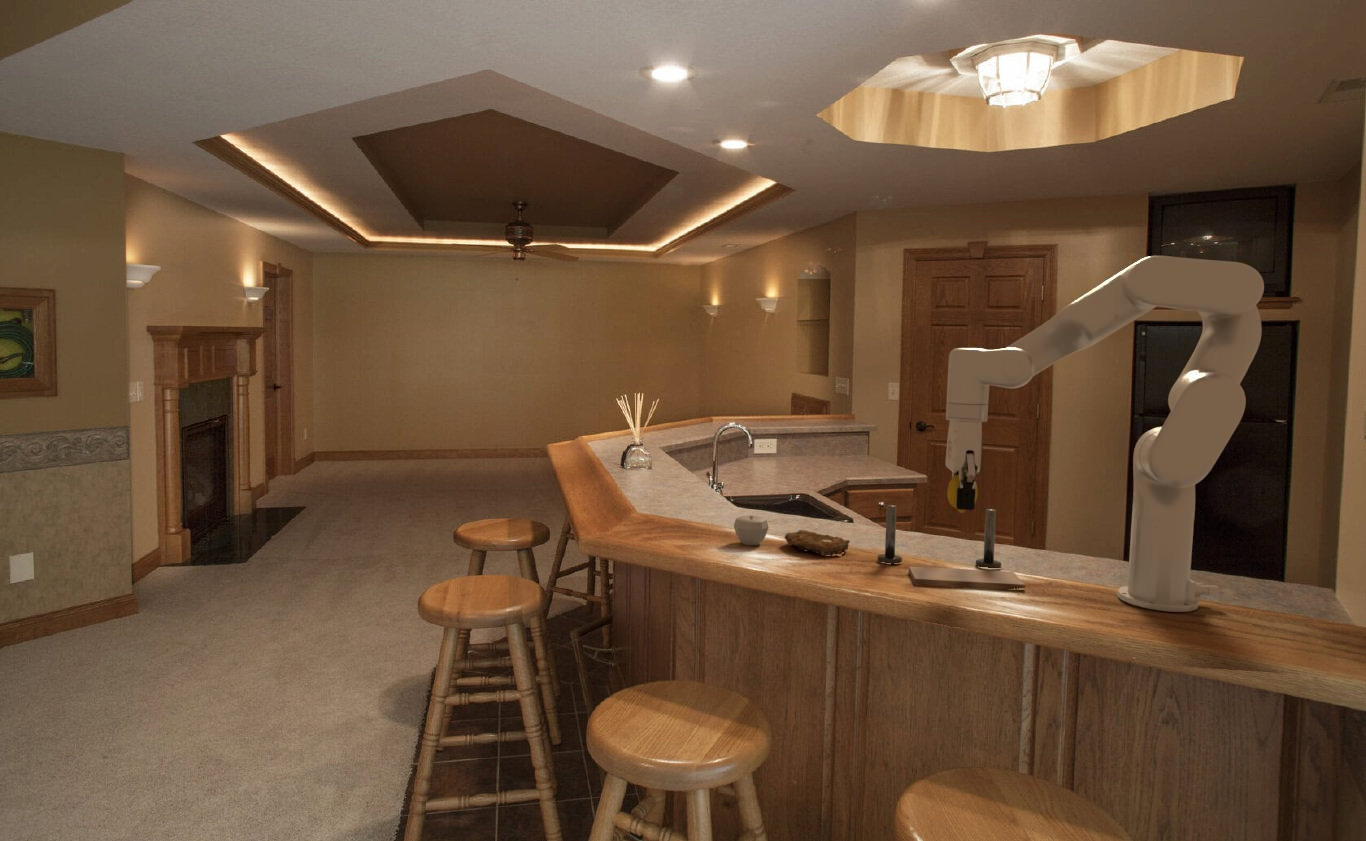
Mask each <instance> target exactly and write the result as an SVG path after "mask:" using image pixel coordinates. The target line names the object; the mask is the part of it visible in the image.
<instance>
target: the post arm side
mask: <svg viewBox="0 0 1366 841" xmlns="http://www.w3.org/2000/svg"><path fill="white" fill-rule="evenodd" d="M996 519H997V509H994V508H993V509H992V508H987V509H985V520H984V522H985V523H984V539H983V540H984V543H983V558H981V559H980V558H979V559H976V560H975V567H976V566H979V567H988V568H1001V569H1002V562H1001V561H998V560H995V559H994V558H995V543H996V541H995V540H996V521H997V520H996Z"/></svg>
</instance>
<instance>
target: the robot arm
mask: <svg viewBox="0 0 1366 841" xmlns="http://www.w3.org/2000/svg"><path fill="white" fill-rule="evenodd" d="M1264 290H1265V283H1264V279H1263V276H1262V275H1261V274H1260V272H1259V271H1258V270H1256V269H1255V268H1254V267H1252V266H1251V265H1248V264H1246V263H1244V262H1238V261H1229V260H1228V261H1227V260H1213V259H1201V258H1191V257H1179V256H1168V255H1151V256H1146V257H1143V258H1141V259H1139V260H1137V261H1136V262H1134V263H1133V264H1131V265H1129V266H1128V267H1126V268H1125V269H1123V270H1121V271H1119V272H1118V273H1117V274H1114V275H1113V276H1112V277H1110V278H1109V279H1107V280H1105V281H1104V282H1102V283H1101V284H1099V285H1098V286H1096V287H1094V288H1093V289H1091V290H1090V291H1089V292H1086V293H1085V294H1083V295H1082V296H1080V297H1078V298H1077V299H1075V300H1074V301H1072V302H1070V303H1069V304H1067V305H1066V306H1065V307H1063V308H1062V309H1061V310H1059V311H1058V312H1057V313H1056V314H1054V316H1052V317H1051V318H1050V319H1048V320H1047V321H1045V322H1044V323H1043V324H1041V325H1040V326H1038V327H1037V328H1035V329H1033V330H1032V331H1030V332H1028V333H1027V334H1026V335H1024V336H1023V337H1021V338H1019V339H1018V340H1016V341H1015V342H1013V343H1011V344H1010V345H1008V346H1006V347H1005V348H999V349H998V348H997V349H986V348H980V347H979V348H977V347H958V348H957V347H956V348H953V349H952V350H950V352H949V354H948V370H947V386H946V410H945V420H946V421H949V423H948V430H947V431H948V432H947V440H946V453H945V463H944V464H945V466H946V467H945V468H947V469H949V471H951V473H952V474H951V479H952V478H953V477H954V476H956V475H958V474H959V488H957V503H956V508H957V509H961V510H965V511H968V510H969V511H973V510H975V504H976V503H975V482H976V474H979V472H980V470H981V462H982V461H981V460H982V459H981V458H982V443H983V442H982V437H983V431H982V429H983V427H982V423H985V422H988V414H989V412H988V411H989V395H990V386H994V387H1000V388H1005V389H1017V388H1022V387H1023V386H1025V385H1027V384H1028V383H1029V382H1031V380H1032V379H1033V377H1034V376H1036V375H1038V374H1039V373H1041V372H1043V371H1044V370H1046V369H1047V368H1049V367H1050V366H1052V365H1054V364H1056V363H1058V362H1059V361H1061V360H1063V359H1064V358H1066V357H1068V356H1070V355H1072V354H1075V353H1077V352H1081V351H1082V350H1086V349H1088V348H1090V347H1092V346H1094V345H1095V344H1097V343H1099V342H1101V341H1102V340H1105V339H1106V338H1107V337H1109V336H1111V335H1113V334H1114V333H1116V332H1117V331H1119V330H1121V329H1122V328H1123V327H1125V326H1127V325H1129V324H1130V323H1132V322H1133V321H1135V320H1137V319H1138V318H1141V317H1142V316H1143V315H1145V314H1147V313H1148V312H1150V311H1152V310H1153V309H1155V308H1157V307H1158V308H1159V307H1160V308H1165V309H1166V308H1167V309H1174V310H1183V311H1192V312H1197V313H1198V314H1199V316H1200V319H1201V321H1202V332H1201V335H1200V338H1199V339H1198V343H1197V344H1196V347H1195V349H1194V351H1193V353H1192V354H1191V356H1190V358H1189V360H1188V361H1187V363H1186V365H1185V367H1184V368H1183V369H1182V372H1180V375H1179V376H1178V378H1177V380H1176V381H1175V383H1174V384H1173V386H1171V389H1170V391H1169V394H1168V399H1167V402H1168V407H1169V410H1170V412H1169V414H1168V416H1167V417H1166V419H1165V421H1164V423H1163V425H1162V426H1157V427H1154V428H1152V429H1150V430H1147V431H1146V432H1144V433H1143V434H1142V435H1141V436H1140V437H1139V439H1138V441H1137V442H1136V443H1135V447H1134V451H1133V456H1132V457H1133V460H1132V462H1133V463H1132V464H1133V466H1132V469H1133V470H1132V471H1133V475H1132V476H1133V496H1132V497H1133V498H1132V513H1131V526H1130V527H1131V528H1130V545H1129V558H1128V559H1129V560H1128V561H1129V562H1128V571H1127V572H1128V575H1127V576H1128V577H1127V585H1124V586H1121V587H1119V588H1118V589H1117V593H1116V594H1117V598H1118V599H1120V600H1121V601H1123V602H1125V603H1128V604H1130V605H1132V606H1136V607H1140V608H1142V609H1143V608H1144V609H1147V610H1154V611H1158V612H1159V611H1160V612H1161V611H1162V612H1172V613H1186V612H1187V613H1188V612H1192V611H1196V610H1197V609H1198V608H1199V599H1197V598H1199V597H1200V596H1206V597H1219V596H1220V590H1221V589H1220V587H1219V585H1214V584H1213V585H1209V584H1205V583H1203V582H1195V580H1192V579H1191V570H1192V568H1191V566H1192V555H1193V552H1192V550H1193V538H1194V537H1193V536H1194V525H1195V524H1194V523H1195V516H1196V515H1195V513H1196V512H1195V511H1196V485H1197V484H1198V483H1200V482H1201V481H1202V480H1204V478H1206V476H1207V475H1208V474H1209V473H1210V472H1211V471H1212V469H1213V467H1214V465H1215V464H1216V462H1217V460H1218V459H1219V457H1220V456H1221V454H1222V453H1223V451H1224V449H1225V447H1226V445H1227V444H1228V443H1229V442H1230V439H1231V437H1232V436H1233V434H1234V432H1235V431H1236V429H1237V428H1238V426H1239V424H1240V422H1241V420H1242V418H1243V415H1244V412H1245V410H1246V402H1247V400H1246V395H1245V391H1244V389H1243V387H1242V386H1241V383H1242V381H1243V379H1244V377H1245V376H1246V374H1247V372H1248V370H1249V368H1250V365H1251V364H1252V362H1253V360H1254V358H1255V355H1256V354H1257V352H1258V349H1259V348H1260V347H1259V346H1260V344H1261V339H1262V334H1263V333H1262V319H1261V315H1260V312H1259V308H1258V306H1257V304H1258V303H1259V302H1260V301H1261V299H1262V297H1263V294H1264ZM963 476H964V478H963ZM956 508H955V509H956ZM957 509H956V510H957Z"/></svg>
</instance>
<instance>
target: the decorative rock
mask: <svg viewBox="0 0 1366 841" xmlns="http://www.w3.org/2000/svg"><path fill="white" fill-rule="evenodd" d="M784 539H785V540H786V542H787V544H789V545H788V546H790V545H794V546H795V547H797V549H798V550H799V549H800V550H802V551H803V550H809V551H810V550H813V551H812V552H814V551H815V552H814V553H816V552H817V553H816V554H819V553H820V554H819V555H821V556H822V557H823V556H826V555H833V554H841V553H842V552H845V553H846V551H847V550H848V549H849V546H850V545H849V543H850V542H851V541H850V540H847V539H844V538H843V537H841V536H840V537H838V536H832V535H829V534H821V533H817V532H814V531H813V532H812V531H808V530H805V529H804V530H802V529H799V530H798V531H796V532H795V531H794V532H788V533H786V534H784ZM794 546H793V547H794Z"/></svg>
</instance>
